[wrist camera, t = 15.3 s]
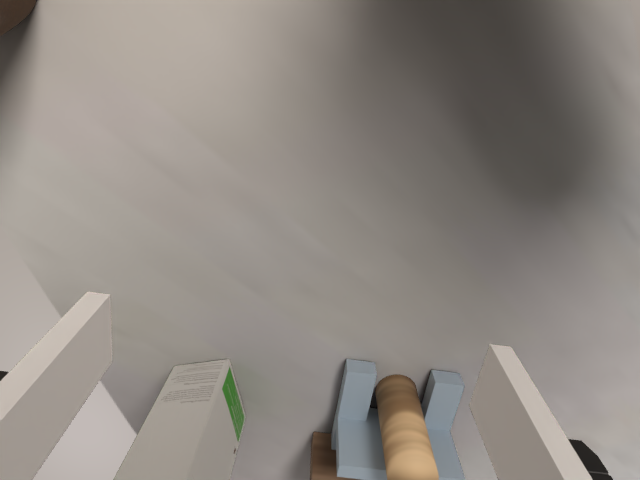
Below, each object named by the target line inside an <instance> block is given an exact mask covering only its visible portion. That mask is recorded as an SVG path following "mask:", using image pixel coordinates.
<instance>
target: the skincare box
mask: <svg viewBox="0 0 640 480" xmlns="http://www.w3.org/2000/svg"><path fill="white" fill-rule="evenodd" d="M245 420H246V415H245V411H244V408H243V404H242V400H241V397H240V393H239V390H238V387H237V383H236V380H235V377H234V373H233V369H232V365H231V362H230V360H229V359H223V360H215V361H208V362H200V363H192V364H184V365H176V366H174V367H173V369H172V371H171V373H170V375H169V377H168V378H167V380H166V382H165V384H164V386H163V388H162V390H161V392H160V393H159V395H158V397H157V399H156V401H155V403H154V405H153V407H152V408H151V410H150V412H149V414H148V416H147V418H146V420H145V422H144V423H143V425H142V427H141V429H140V431H139V433H138V435H137V436H136V439H135V440H134V442H133V444H132V446H131V448H130V450H129V452H128V453H127V455H126V457H125V459H124V461H123V463H122V464H121V466H120V468H119V470H118V472H117V474H116V476H115V478H114V479H113V480H230V478H231V474H232V470H233V466H234V463H235V459H236V455H237V451H238V447H239V443H240V439H241V435H242V431H243V427H244V424H245Z"/></svg>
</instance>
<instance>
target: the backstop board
mask: <svg viewBox="0 0 640 480" xmlns="http://www.w3.org/2000/svg"><path fill="white" fill-rule="evenodd" d="M310 480H361V479H353V478H344V477H337V464H336V450H332V449H331V434H329V433H320V432H313V438H312V443H311V463H310Z"/></svg>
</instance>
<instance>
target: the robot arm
mask: <svg viewBox="0 0 640 480" xmlns="http://www.w3.org/2000/svg"><path fill="white" fill-rule="evenodd" d="M112 361H113V355H112V325H111V295H110V294H102V293H95V292H87V293H86V294H85V295H84V296H83V297H82V298H81V299H80V300H79V301H78V302H77V303H76V304H75V305H74V306H73V307H72V308H71V309H70V310H69V311H68V312H67V313H66V314H65V315H64V316H63V317H62V318H61V319H60V320H59V322H57V324H55V326H54V327H53V328H52V329H51V330H50V331H49V332H48V333H47V334H46V335H45V336H44V337H43V338H42V339H41V340H40V341H39V342H38V343H37V344H36V345H35V346H34V347H33V348H32V349H31V350H30V351H29V352H28V353H27V355H25V356H24V357H23V358H22V360H20V361H19V363H18V364H17V365H16V366H15V367H14V368H13V369H12V370H11V371H10V372H4V371H0V480H32V479H33V478H34V476H35V475H36V473H37V472H38V470H39V469H40V468H41V466H42V465H43V463H44V462H45V460H46V459H47V457H48V456H49V454H50V453H51V451H52V450H53V448H54V447H55V445H56V444H57V443H58V441H59V440H60V438H61V437H62V435H63V433H64V432H65V431H66V429H67V428H68V426H69V425H70V423H71V422H72V420H73V419H74V417H75V416H76V414H77V413H78V412H79V410H80V409H81V407H82V405H83V404H84V403H85V401H86V400H87V398H88V397H89V395H90V394H91V392H92V391H93V389H94V388H95V387H96V385H97V384H98V382H99V381H100V379H101V378H102V376H103V375H104V373H105V372H106V370H107V369H108V367H109V366H110V364H111V363H112ZM469 407H470V409H471V412H472V414H473V417H474V419H475V422H476V425H477V427H478V430H479V432H480V435H481V437H482V440H483V442H484V445H485V447H486V450H487V452H488V455H489V457H490V460H491V462H492V465H493V467H494V470H495V472H496V475H497V478H498V480H613V479H612V477H611V476H609V475H608V471H607V470H606V468H605V467H604V465H603V464H602V462H601V460H600V459H599V457H598V456H597V455H596V454H595V453H594V452H593V451H592V450H591V449H589V448H588V447H587V446H586V445H585V444H584V443H583V442H582V441H579V440H571V439H567V437H566V435H565V434H564V432H563V430H562V429H561V427H560V426H559V424H558V422H557V421H556V419H555V417H554V416H553V414H552V413H551V411H550V409H549V408H548V406H547V404H546V403H545V401H544V400H543V398H542V396H541V395H540V393H539V391H538V390H537V388H536V386H535V385H534V383H533V382H532V380H531V378H530V377H529V375H528V373H527V372H526V370H525V369H524V367H523V365H522V364H521V362H520V360H519V359H518V357H517V356H516V354H515V352H514V351H513V349H512V347H509V346H501V345H494V344H490V345H489V348H488V351H487V354H486V357H485V360H484V363H483V365H482V368H481V371H480V374H479V377H478V380H477V383H476V386H475V389H474V392H473V395H472V398H471V401H470V404H469Z"/></svg>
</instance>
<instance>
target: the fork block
mask: <svg viewBox="0 0 640 480" xmlns="http://www.w3.org/2000/svg"><path fill="white" fill-rule="evenodd" d="M376 377H377V372H376V366H375V362H367V361H359V360H351V359H346V364H345V369H344V374H343V379H342V384H341V389H340V394H339V399H338V404H337V409H336V414H335V419H334V424H333V429H332V434H331V449H332V450H336V464H337V477H344V478H353V479H361V480H387V474H386V467H385V460H384V452H383V445H382V438H381V430H380V423H379V416H378V409H374V408H369V407H370V402H371V398H372V394H373V390H374V385H375V381H376ZM464 387H465V386H464V383H463V381H462V378H461V376H460V373H453V372H446V371H438V370H431V373H430V377H429V380H428V383H427V387H426V390H425V394H424V397H423V401H422V404H421V408H422V412H423V416H424V420H425V424H426V428H427V432H428V435H429V439H430V443H431V447H432V451H433V455H434V459H435V462H436V466H437V470H438V474H439V480H465V477H464V473H463V470H462V467H461V464H460V461H459V458H458V455H457V452H456V448H455V445H454V442H453V439H452V436H451V433H450V429H451V426H452V423H453V420H454V417H455V414H456V411H457V408H458V405H459V402H460V399H461V396H462V393H463V390H464Z"/></svg>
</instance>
